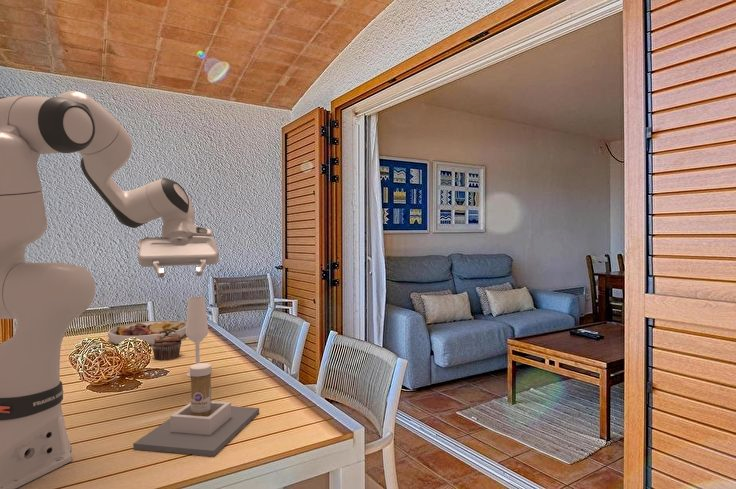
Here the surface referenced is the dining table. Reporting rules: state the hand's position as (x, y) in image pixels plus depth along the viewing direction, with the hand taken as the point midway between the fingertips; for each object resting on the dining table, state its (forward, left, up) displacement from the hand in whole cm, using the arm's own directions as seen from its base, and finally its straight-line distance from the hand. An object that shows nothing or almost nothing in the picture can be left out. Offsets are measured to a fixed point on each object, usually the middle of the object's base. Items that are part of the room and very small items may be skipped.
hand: (180, 275), depth 120 cm
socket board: (-15, -15, -33) cm, 40 cm away
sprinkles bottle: (-15, -14, -32) cm, 39 cm away
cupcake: (+37, +29, -34) cm, 58 cm away
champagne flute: (+22, +8, -34) cm, 41 cm away
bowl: (+60, +53, -34) cm, 87 cm away
